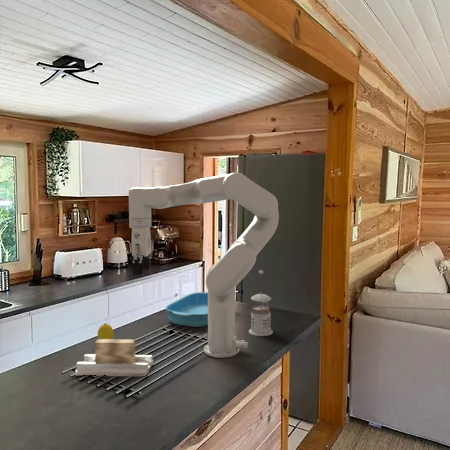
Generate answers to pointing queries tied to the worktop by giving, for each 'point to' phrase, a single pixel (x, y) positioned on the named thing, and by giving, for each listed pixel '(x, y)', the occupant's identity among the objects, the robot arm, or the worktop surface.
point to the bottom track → (114, 367)
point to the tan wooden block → (115, 350)
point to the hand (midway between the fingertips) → (141, 271)
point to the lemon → (105, 332)
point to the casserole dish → (189, 310)
